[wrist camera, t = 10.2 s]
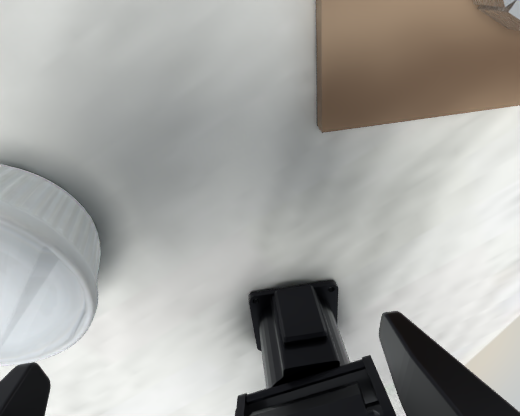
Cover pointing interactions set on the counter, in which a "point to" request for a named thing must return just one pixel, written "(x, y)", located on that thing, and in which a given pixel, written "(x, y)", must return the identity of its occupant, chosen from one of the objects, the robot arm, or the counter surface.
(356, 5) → the board
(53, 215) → the ramekin
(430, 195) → the counter surface
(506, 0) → the collar
